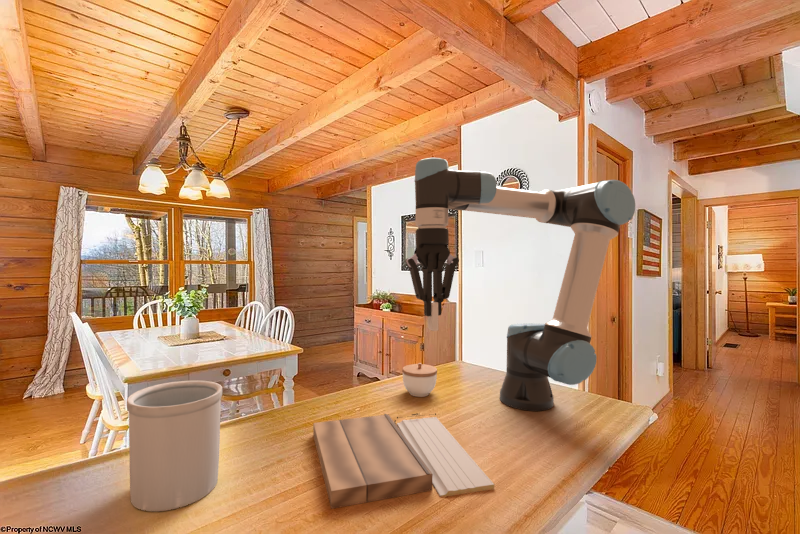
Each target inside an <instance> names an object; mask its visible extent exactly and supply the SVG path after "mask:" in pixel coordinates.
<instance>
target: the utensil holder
mask: <svg viewBox="0 0 800 534" xmlns="http://www.w3.org/2000/svg"><path fill="white" fill-rule="evenodd" d="M222 396H223V386H222V385H221V384H220V383H217V382H214V381H211V380H210V381H209V380H182V381H181V380H180V381H178V380H177V381H171V382H163V383H160V384H154V385H150V386H148V387H145V388H141V389H139V390H137V391H134V392H133V393H131V394H130V395H129V396H128V397H127V399H126V409H127V411H128V431H129V432H128V434H129V435H128V436H129V439H128V441H129V442H128V443H129V444H128V445H129V446H128V448H129V453H128V454H129V493H130V502H131V504H132V506H133V507H135V508H136V509H139V510H140V509H141V511H145V510H146V511H145V512H164V511H165V512H166V511H171V509H172V510H175V509H179V507H180V508H183V507H185V506H189V505H190V504H193V503H195V502H197V501H199V500H201V499H203V498H204V497H206V496H207V495H208V494H210V493H211V492H212V491H213V490H214V489H215V487H216V486H217V483H218V479H219V467H220V466H219V464H220V463H219V462H220V443H221V442H220V441H221V440H220V439H221V438H220V437H221V435H220V434H221V412H222V411H221V405H222V401H221V398H222ZM188 504H189V505H188Z"/></svg>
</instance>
